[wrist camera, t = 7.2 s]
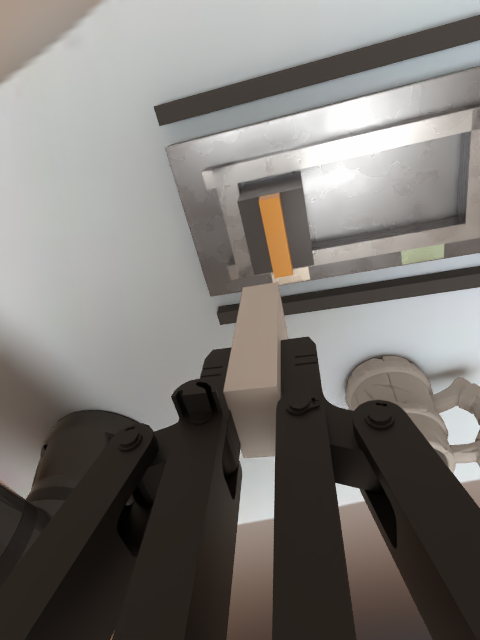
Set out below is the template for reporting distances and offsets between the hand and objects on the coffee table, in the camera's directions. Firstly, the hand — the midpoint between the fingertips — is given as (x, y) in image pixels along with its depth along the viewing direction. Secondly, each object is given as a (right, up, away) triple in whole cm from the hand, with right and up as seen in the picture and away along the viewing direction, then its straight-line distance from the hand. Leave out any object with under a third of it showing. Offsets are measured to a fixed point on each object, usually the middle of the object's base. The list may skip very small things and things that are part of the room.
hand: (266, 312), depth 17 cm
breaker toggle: (+2, +8, +12) cm, 14 cm away
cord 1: (+9, +2, +16) cm, 19 cm away
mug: (+15, -6, +21) cm, 26 cm away
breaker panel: (+7, +9, +12) cm, 17 cm away
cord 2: (+5, +16, +8) cm, 19 cm away
